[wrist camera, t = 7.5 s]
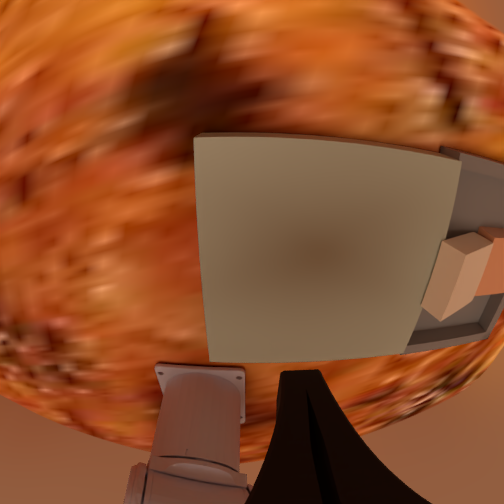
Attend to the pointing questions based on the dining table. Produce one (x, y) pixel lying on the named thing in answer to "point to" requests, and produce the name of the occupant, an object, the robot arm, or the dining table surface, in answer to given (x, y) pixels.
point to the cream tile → (456, 274)
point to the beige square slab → (316, 243)
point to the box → (462, 222)
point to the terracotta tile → (493, 263)
